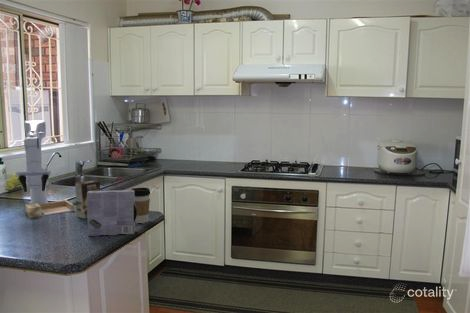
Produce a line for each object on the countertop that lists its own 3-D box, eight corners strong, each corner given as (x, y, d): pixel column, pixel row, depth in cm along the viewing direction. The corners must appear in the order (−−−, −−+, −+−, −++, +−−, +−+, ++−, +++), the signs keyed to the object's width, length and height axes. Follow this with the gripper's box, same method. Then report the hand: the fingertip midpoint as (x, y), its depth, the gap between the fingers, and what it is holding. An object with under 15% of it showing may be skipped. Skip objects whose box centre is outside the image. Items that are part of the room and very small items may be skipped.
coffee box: (83, 219, 185) (81, 184, 183) (76, 216, 189) (74, 182, 187) (101, 214, 192) (100, 181, 190) (94, 212, 196) (92, 179, 194)
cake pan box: (138, 230, 169) (136, 188, 167) (137, 234, 164) (135, 191, 162) (89, 233, 166) (87, 190, 164) (87, 237, 161) (84, 193, 159)
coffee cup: (128, 221, 181) (126, 188, 179) (144, 217, 187) (143, 185, 185) (138, 225, 175) (137, 191, 173) (155, 221, 181) (154, 188, 179)
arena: (39, 210, 201) (38, 204, 200) (66, 205, 209) (66, 200, 208) (45, 215, 191) (45, 209, 191) (74, 210, 199) (73, 204, 199)
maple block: (29, 217, 188) (29, 208, 187) (25, 213, 195) (25, 204, 194) (41, 216, 191) (41, 206, 190) (37, 211, 198) (36, 202, 197)
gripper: (17, 161, 185) (18, 191, 184) (51, 161, 194) (53, 189, 193) (14, 163, 191) (15, 192, 189) (48, 163, 200) (49, 190, 198)
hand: (34, 191), depth 191 cm, fingers open, 7 cm apart
